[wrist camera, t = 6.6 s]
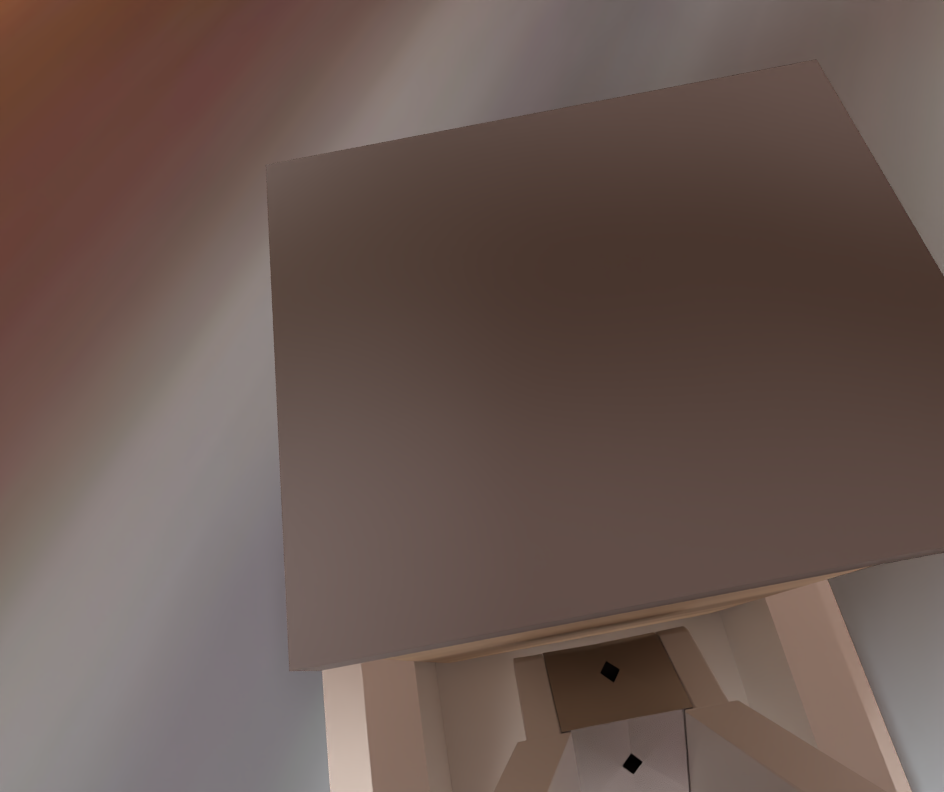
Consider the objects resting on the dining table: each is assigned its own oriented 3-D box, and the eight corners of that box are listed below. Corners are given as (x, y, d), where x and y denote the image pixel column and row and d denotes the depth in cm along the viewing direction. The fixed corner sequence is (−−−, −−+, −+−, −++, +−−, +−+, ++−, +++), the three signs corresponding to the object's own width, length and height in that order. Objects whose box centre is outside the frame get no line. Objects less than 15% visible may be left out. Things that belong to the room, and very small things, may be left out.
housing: (926, 889, 13) (1147, 1011, 8) (358, 996, 13) (266, 1178, 8) (672, 226, 20) (715, 95, 15) (306, 296, 20) (241, 186, 15)
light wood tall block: (714, 617, 14) (1087, 520, 5) (445, 668, 14) (289, 671, 5) (648, 409, 16) (816, 58, 7) (414, 454, 16) (266, 164, 7)
